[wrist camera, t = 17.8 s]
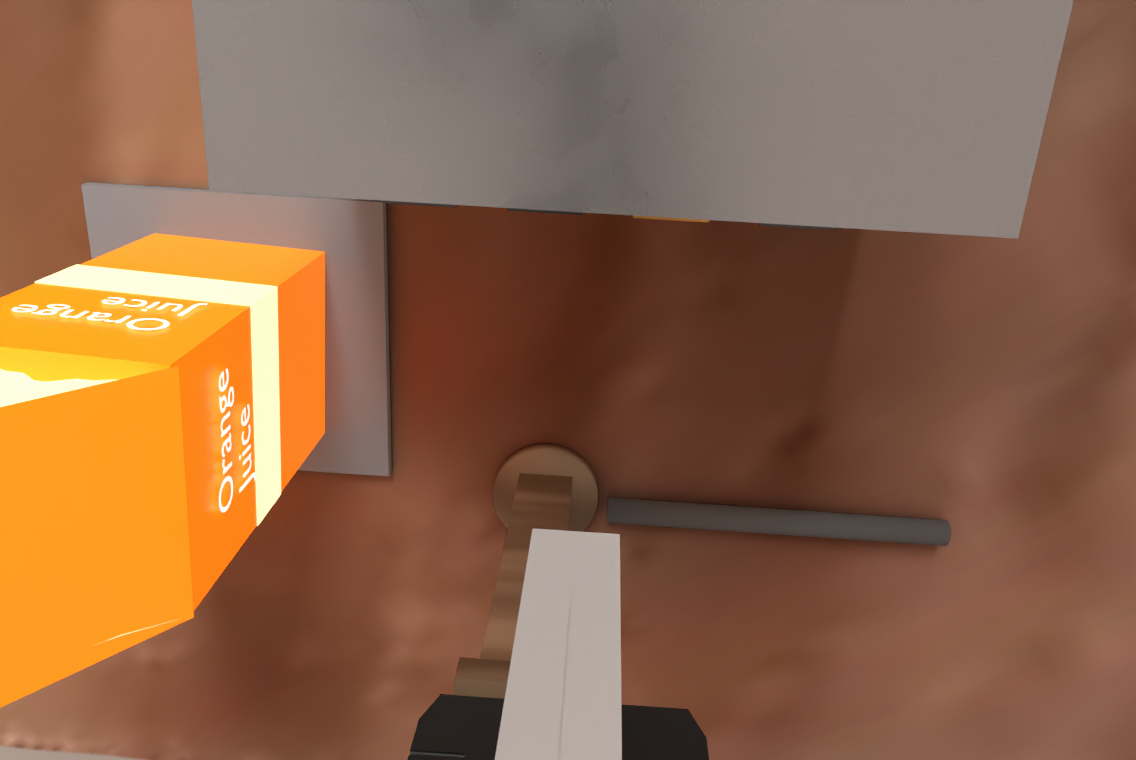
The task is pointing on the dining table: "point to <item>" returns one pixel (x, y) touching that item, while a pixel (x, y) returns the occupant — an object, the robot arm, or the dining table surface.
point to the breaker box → (639, 106)
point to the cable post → (525, 547)
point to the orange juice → (145, 437)
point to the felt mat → (350, 289)
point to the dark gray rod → (778, 521)
